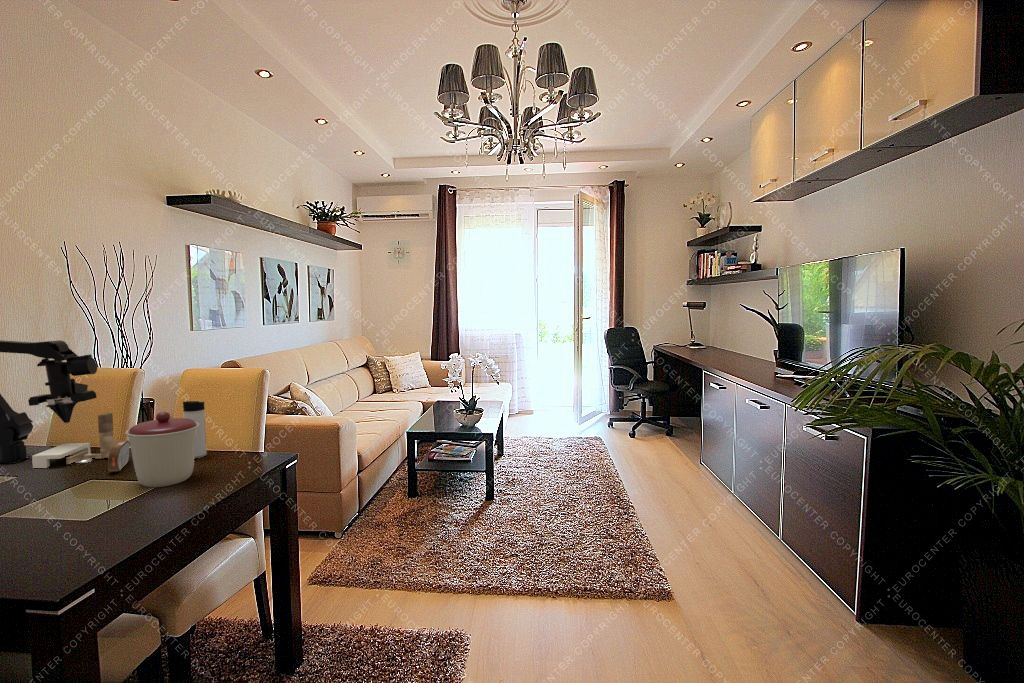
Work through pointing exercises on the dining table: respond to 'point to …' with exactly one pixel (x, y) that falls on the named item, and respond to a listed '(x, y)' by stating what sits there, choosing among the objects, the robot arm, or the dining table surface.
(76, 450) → the cream rectangular box
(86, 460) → the grey metal disc
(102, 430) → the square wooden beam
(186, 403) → the travel mug
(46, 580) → the dining table surface
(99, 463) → the dining table surface
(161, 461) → the canister
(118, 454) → the tin
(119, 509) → the dining table surface
